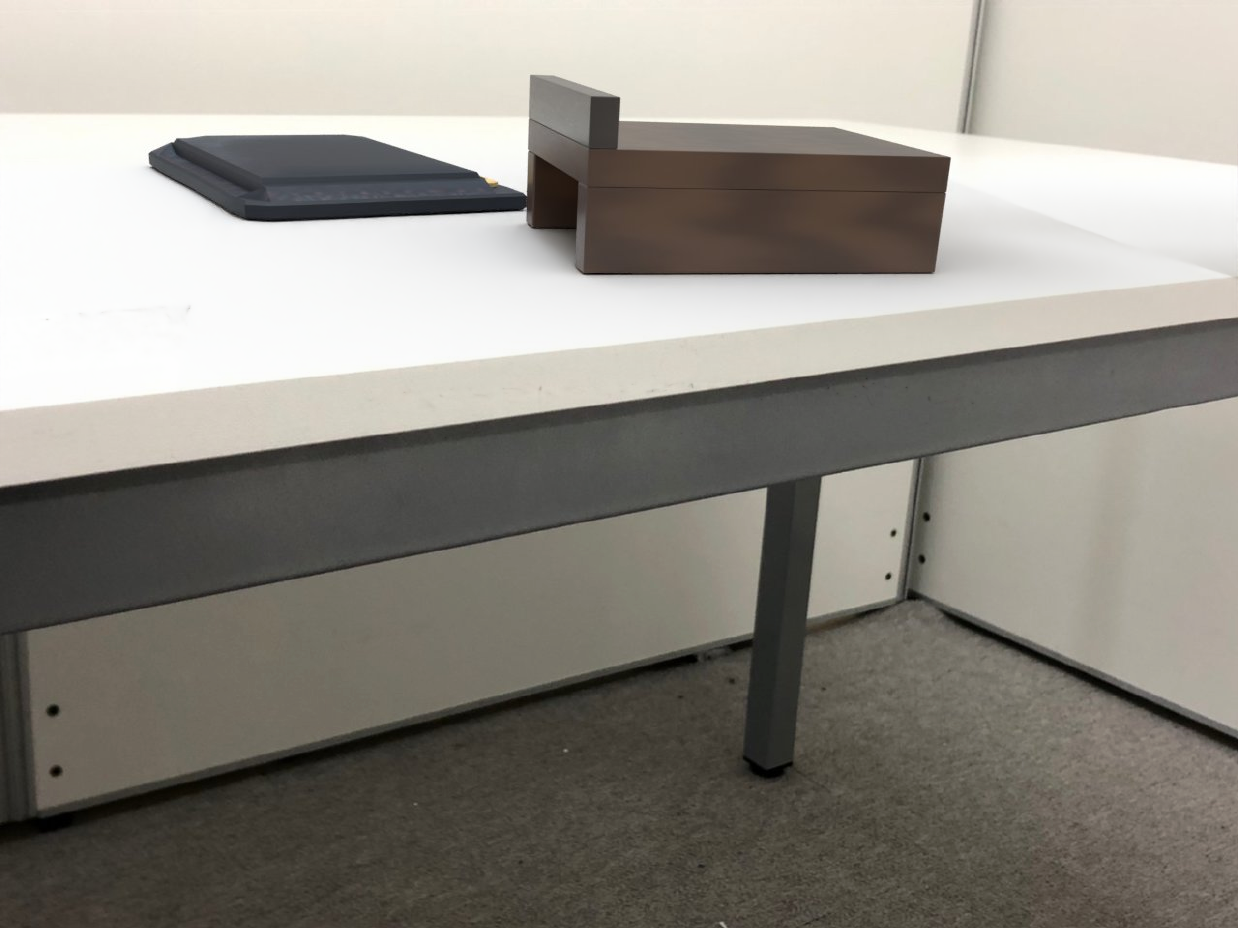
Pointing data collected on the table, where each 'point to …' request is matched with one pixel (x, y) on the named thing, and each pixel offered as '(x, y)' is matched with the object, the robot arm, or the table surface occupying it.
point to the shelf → (726, 192)
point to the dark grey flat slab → (325, 177)
